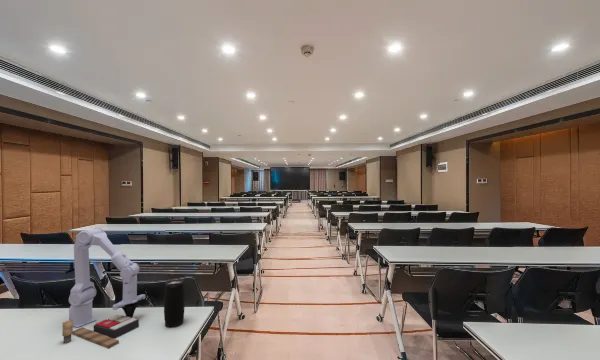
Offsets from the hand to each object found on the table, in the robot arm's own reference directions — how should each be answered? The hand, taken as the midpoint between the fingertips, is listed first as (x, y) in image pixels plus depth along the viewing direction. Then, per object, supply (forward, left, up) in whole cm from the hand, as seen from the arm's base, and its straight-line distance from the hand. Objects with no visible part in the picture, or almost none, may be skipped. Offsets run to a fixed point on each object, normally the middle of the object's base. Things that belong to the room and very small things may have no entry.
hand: (129, 319), depth 130 cm
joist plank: (+1, -15, -1) cm, 16 cm away
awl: (-7, -21, -1) cm, 23 cm away
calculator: (+1, -7, -2) cm, 7 cm away
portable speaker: (+21, +8, -1) cm, 22 cm away
